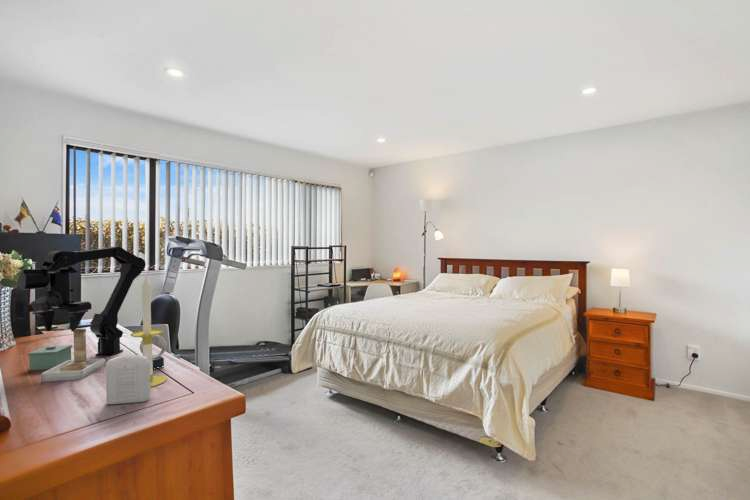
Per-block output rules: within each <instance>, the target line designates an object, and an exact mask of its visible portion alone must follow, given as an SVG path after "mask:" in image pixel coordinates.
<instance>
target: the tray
mask: <svg viewBox="0 0 750 500" xmlns="http://www.w3.org/2000/svg"><path fill="white" fill-rule="evenodd" d="M68 363H74V359H71V360H68V361H66V362H64V363H62V364H60V365H58V366H56V367H54V368H51V369H46V371H45V370H44V371H43V372H41V373H40V382H41V383H43V382H55V381H56V382H57V381H72V380H82V379H85V378H86V377H88V376H90V375H92V374H93V373H94V372H96V371H97V370H99V369H101V368H103V367H105V358H103V357H102V358H86V365H87V366H86V368H84V369H83V370H81V371H66V372H60V367H62V366H64V365H66V364H68Z"/></svg>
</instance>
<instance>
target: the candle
mask: <svg viewBox="0 0 750 500" xmlns="http://www.w3.org/2000/svg"><path fill="white" fill-rule="evenodd" d="M141 294H142V295H141V297H142V298H141V301H142V302H141V303H142V330H138V331H134V332H132V333H130V337H132V338H142V340H143V354H142V356H146V357H149V359H150V388H152V387H151V386H155V385H158V384H161V383H163V382H164V381H165V380H166V379H167V380H168V378H167V377H166V376H164V375H154V370H153V359H152V356H153V337H152V336H154V335H161V334H162V333H164V329H160V328H157V329H156V328H155V329H154V328H152V310H151V309H152V304H151V303H152V302H151V298H152V297H151V283H150V282H149V280H148V277H145V279H144V282H143V283H142V285H141ZM164 383H165V382H164ZM164 383H163V384H164ZM161 385H162V384H161ZM158 386H159V385H158ZM155 387H156V386H155Z"/></svg>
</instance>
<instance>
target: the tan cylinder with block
mask: <svg viewBox="0 0 750 500" xmlns="http://www.w3.org/2000/svg"><path fill="white" fill-rule="evenodd" d="M86 333H87V329H86V328H76V330H73V360H74V363H68V364H66V365H64V366H62V367H60V372H66V371H81V370H83V369H84V368H86V366H87V365H86V359H87V335H86Z"/></svg>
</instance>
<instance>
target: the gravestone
mask: <svg viewBox="0 0 750 500" xmlns="http://www.w3.org/2000/svg"><path fill="white" fill-rule="evenodd" d="M105 373H106V374H105V378H106V380H105V381H106V383H105V385H106V386H105V387H106V388H105V389H106V390H105V391H106V392H105V393H106V394H105V395H106V404H107V405H118V404H131V403H142V402H147V400H148V401H149V400H150V399H151V387H150V359H149V357H146V356H143V355H142V354H141V355H140V354H125V355H120V356H117V357H113V358H111V359H109V360H108V361H107V363H106V368H105Z"/></svg>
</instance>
